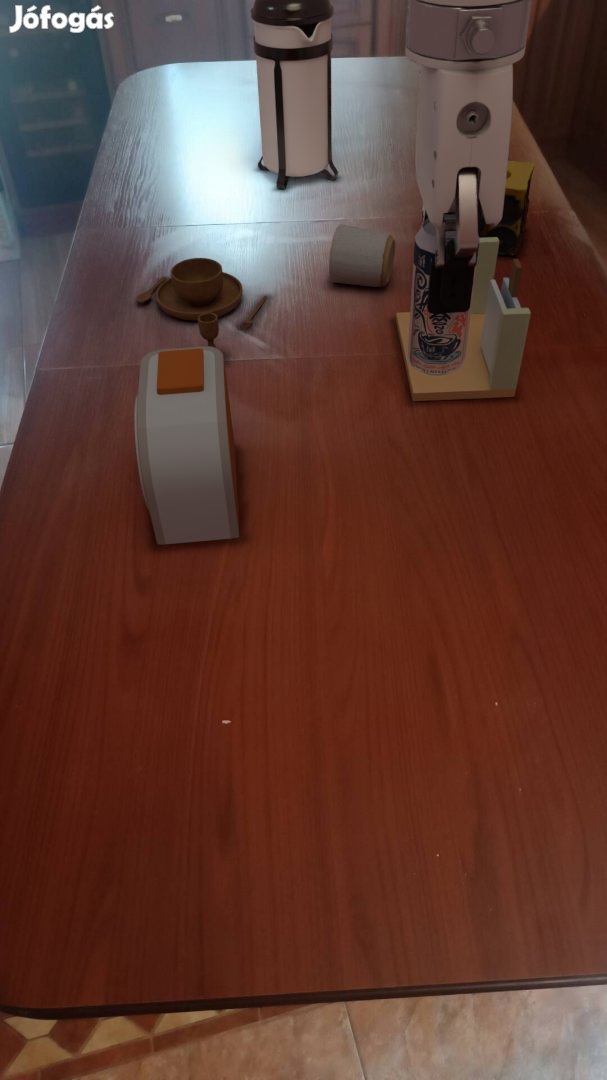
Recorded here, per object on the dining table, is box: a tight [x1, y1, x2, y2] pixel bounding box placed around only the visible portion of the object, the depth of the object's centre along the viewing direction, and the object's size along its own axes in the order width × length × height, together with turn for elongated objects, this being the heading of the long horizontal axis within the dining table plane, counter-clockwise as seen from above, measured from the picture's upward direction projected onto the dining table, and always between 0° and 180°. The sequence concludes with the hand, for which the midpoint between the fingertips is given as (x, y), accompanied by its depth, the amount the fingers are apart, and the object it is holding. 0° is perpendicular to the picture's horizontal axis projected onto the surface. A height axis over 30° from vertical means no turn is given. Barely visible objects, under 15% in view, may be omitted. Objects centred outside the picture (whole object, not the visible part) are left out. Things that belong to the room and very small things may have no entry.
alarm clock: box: [133, 345, 241, 546], centre depth 79 cm, size 15×8×14 cm, turn 5°
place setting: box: [135, 257, 268, 348], centre depth 106 cm, size 18×20×6 cm
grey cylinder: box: [328, 224, 396, 288], centre depth 112 cm, size 11×8×8 cm
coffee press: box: [250, 0, 339, 190], centre depth 131 cm, size 17×16×30 cm
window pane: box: [500, 258, 523, 309], centre depth 92 cm, size 1×7×12 cm, turn 1°
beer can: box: [408, 215, 480, 375], centre depth 64 cm, size 5×5×12 cm
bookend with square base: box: [395, 237, 532, 402], centre depth 96 cm, size 12×18×11 cm, turn 2°
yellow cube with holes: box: [478, 160, 536, 257], centre depth 118 cm, size 10×10×10 cm
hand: (442, 290), depth 63 cm, fingers closed on beer can, 4 cm apart
